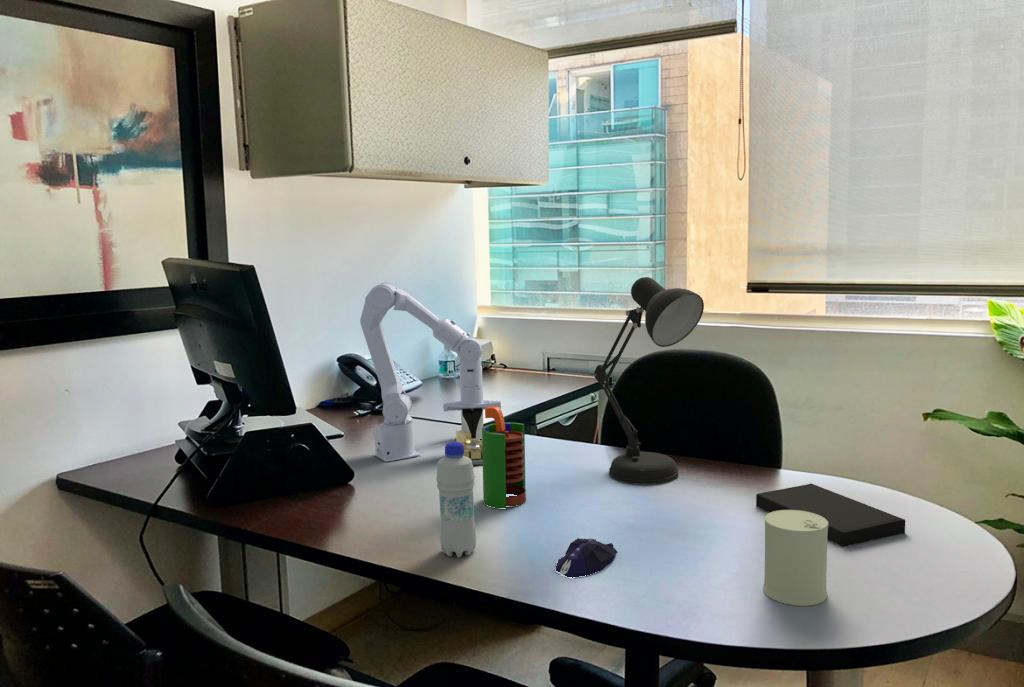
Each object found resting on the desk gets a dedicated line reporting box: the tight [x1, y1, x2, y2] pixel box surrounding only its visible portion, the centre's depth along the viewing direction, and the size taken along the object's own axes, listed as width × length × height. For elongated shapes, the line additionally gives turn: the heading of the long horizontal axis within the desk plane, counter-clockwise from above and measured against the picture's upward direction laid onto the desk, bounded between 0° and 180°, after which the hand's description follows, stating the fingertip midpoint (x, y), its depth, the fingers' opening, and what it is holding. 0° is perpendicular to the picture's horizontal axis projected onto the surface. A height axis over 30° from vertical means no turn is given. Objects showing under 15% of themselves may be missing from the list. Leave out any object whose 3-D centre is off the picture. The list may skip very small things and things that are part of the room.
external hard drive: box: [755, 483, 906, 548], centre depth 152 cm, size 14×23×3 cm, turn 22°
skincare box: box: [460, 410, 484, 441], centre depth 219 cm, size 6×4×12 cm
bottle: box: [435, 441, 477, 558], centre depth 140 cm, size 7×7×20 cm
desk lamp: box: [593, 276, 705, 485], centre depth 179 cm, size 24×26×45 cm
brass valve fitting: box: [455, 429, 483, 459], centre depth 200 cm, size 11×12×4 cm
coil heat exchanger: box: [482, 406, 527, 509], centre depth 166 cm, size 10×9×20 cm
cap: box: [466, 443, 483, 466], centre depth 200 cm, size 13×13×4 cm
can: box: [762, 510, 828, 607], centre depth 121 cm, size 9×9×12 cm
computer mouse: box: [555, 537, 618, 578], centre depth 136 cm, size 9×15×4 cm, turn 138°
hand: (473, 437), depth 205 cm, fingers closed
